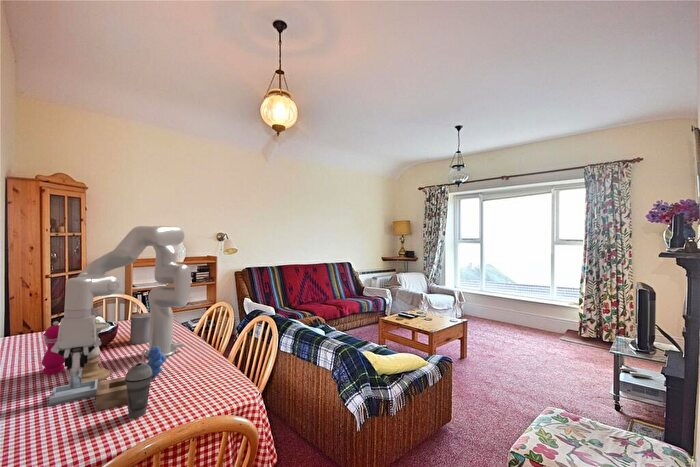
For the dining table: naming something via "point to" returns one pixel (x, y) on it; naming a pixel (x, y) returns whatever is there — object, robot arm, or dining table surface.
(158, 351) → the grapes
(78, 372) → the pin
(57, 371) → the pepper mill
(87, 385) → the dish
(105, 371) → the candle holder
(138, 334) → the pillar candle
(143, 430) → the dining table surface
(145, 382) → the beverage cup
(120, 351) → the dining table surface
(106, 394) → the block
